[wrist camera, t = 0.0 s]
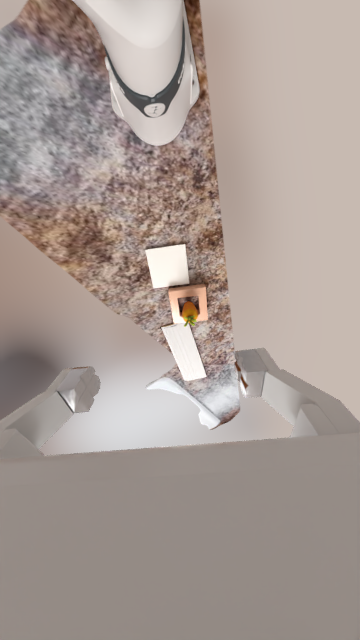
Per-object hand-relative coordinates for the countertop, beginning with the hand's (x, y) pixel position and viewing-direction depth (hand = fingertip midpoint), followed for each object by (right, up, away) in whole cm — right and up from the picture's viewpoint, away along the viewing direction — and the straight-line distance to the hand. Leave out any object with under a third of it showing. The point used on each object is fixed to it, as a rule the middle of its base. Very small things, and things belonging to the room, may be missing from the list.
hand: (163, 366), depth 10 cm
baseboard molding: (+3, -11, +62) cm, 63 cm away
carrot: (+4, +9, +50) cm, 51 cm away
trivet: (-3, +20, +44) cm, 48 cm away
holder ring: (+4, +9, +50) cm, 51 cm away
